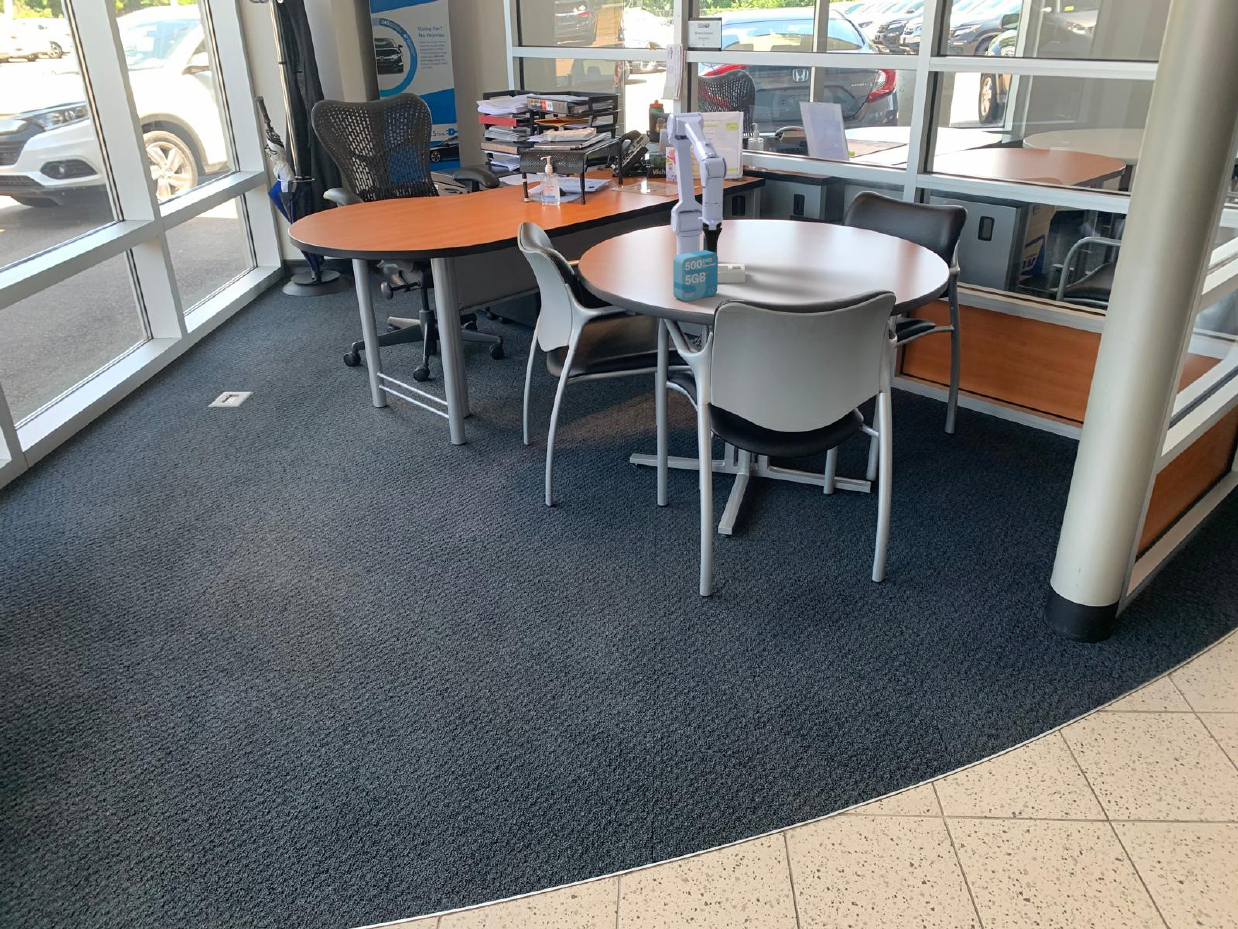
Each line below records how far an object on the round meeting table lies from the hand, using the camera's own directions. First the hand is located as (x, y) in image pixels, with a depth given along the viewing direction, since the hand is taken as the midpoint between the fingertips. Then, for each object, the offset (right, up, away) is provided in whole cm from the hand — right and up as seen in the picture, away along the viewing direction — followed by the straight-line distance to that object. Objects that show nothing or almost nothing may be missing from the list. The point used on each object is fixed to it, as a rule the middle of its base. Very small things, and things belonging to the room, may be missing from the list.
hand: (711, 249), depth 265 cm
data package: (-6, -16, -13) cm, 22 cm away
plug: (0, -1, +1) cm, 2 cm away
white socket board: (+1, -8, +4) cm, 8 cm away
